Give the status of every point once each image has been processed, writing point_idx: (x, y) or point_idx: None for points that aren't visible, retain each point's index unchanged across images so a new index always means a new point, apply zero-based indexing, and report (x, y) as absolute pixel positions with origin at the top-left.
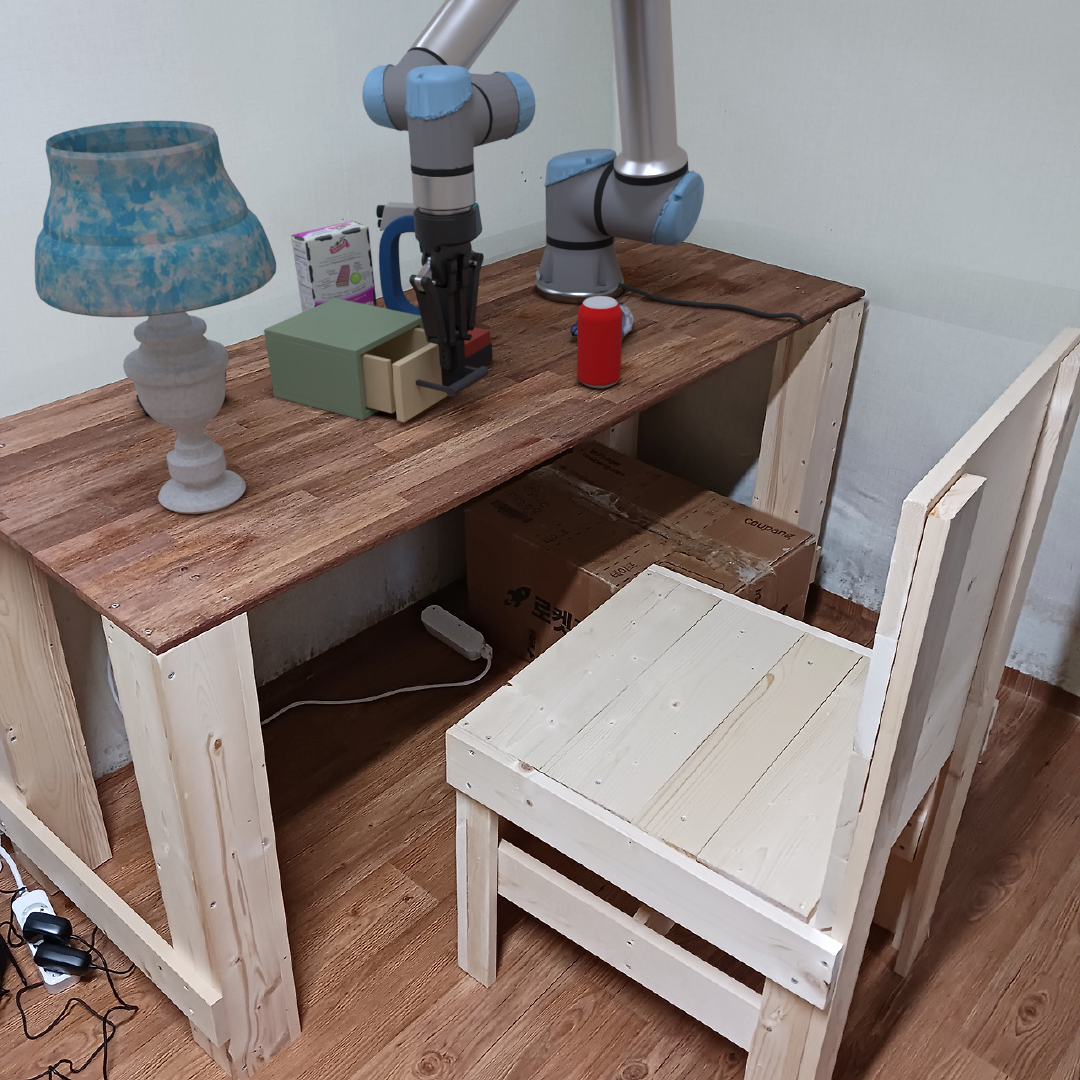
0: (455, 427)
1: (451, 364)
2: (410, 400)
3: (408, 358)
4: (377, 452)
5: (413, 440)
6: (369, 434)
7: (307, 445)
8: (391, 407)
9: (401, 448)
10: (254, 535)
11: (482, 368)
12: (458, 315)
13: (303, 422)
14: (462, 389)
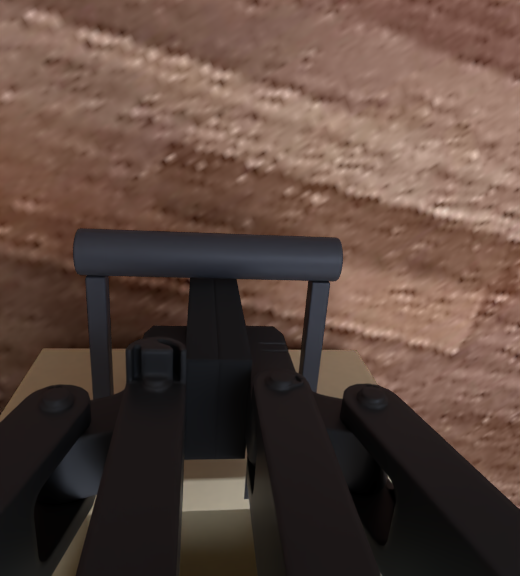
0: (279, 224)
1: (261, 334)
2: (334, 378)
3: None
4: (493, 321)
5: (401, 282)
6: (408, 394)
7: (503, 468)
8: None
9: (455, 282)
10: None
11: (99, 252)
12: (180, 498)
13: None
14: (281, 236)
